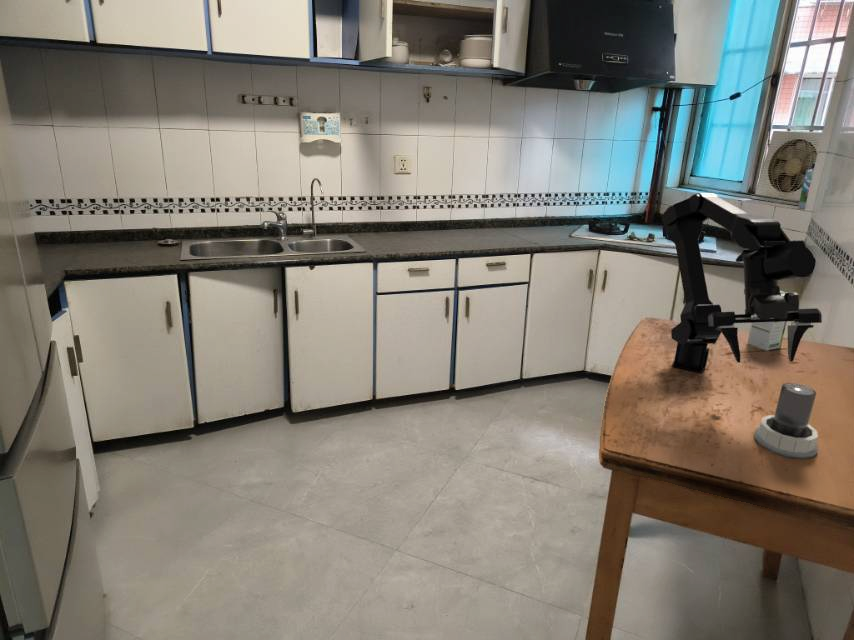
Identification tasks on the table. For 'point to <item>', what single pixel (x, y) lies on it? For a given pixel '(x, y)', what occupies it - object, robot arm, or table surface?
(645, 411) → the table surface
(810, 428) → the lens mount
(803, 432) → the lens
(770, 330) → the syrup box
